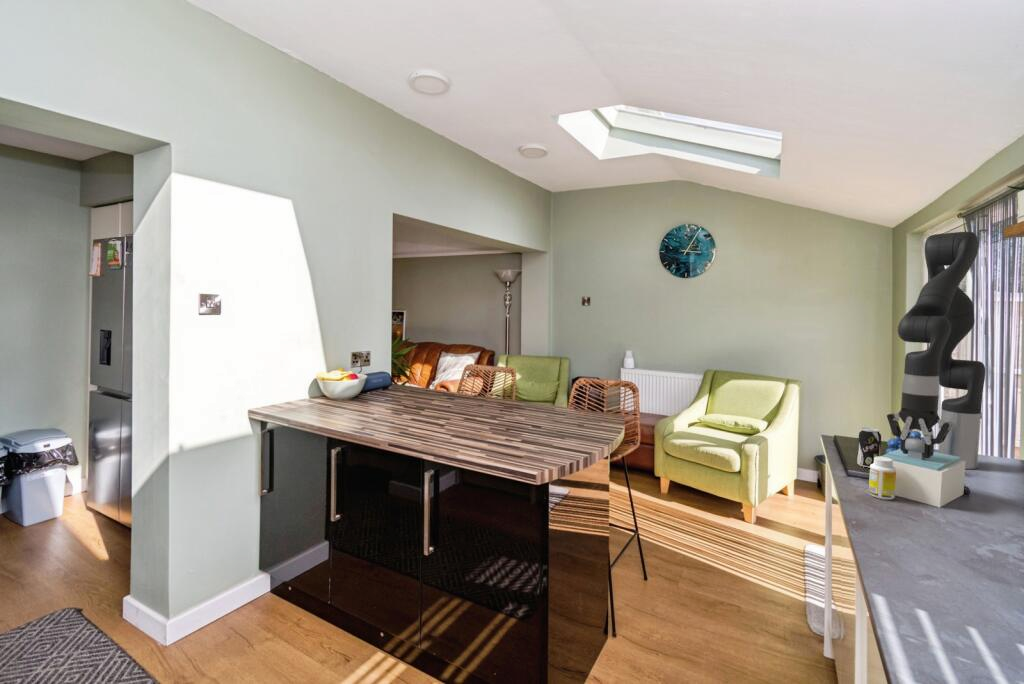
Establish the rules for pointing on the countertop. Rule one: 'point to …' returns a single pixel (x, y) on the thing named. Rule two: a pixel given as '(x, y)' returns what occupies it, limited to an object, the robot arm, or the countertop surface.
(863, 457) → the beverage can
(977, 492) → the countertop surface
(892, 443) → the grapes
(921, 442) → the flap
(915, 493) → the carton
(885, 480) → the supplement bottle
